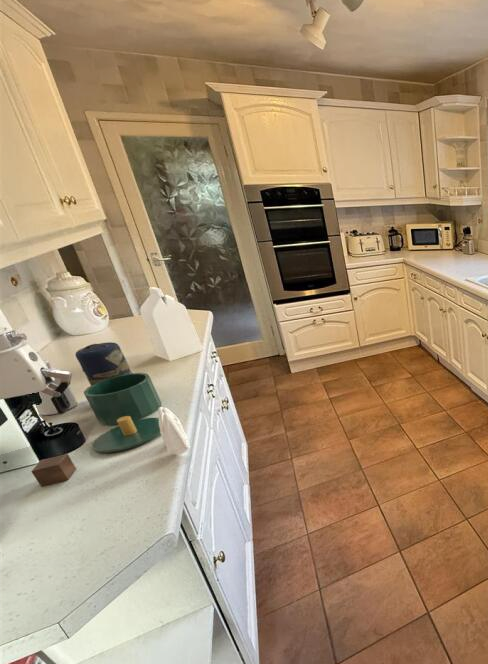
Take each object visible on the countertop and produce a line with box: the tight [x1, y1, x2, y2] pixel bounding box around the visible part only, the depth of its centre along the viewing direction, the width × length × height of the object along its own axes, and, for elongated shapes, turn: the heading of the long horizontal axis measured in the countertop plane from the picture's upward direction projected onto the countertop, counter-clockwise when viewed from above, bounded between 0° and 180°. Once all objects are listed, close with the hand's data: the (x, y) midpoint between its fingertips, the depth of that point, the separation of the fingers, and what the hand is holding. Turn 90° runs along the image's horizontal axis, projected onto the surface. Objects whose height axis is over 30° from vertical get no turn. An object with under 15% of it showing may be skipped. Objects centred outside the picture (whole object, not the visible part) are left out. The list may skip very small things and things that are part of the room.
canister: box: [75, 341, 133, 386], centre depth 120 cm, size 10×10×18 cm
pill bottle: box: [35, 359, 78, 416], centre depth 114 cm, size 8×8×15 cm
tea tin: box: [83, 372, 162, 427], centre depth 113 cm, size 14×14×10 cm
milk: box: [139, 286, 205, 362], centre depth 150 cm, size 12×12×26 cm
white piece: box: [157, 406, 191, 456], centre depth 97 cm, size 12×4×11 cm, turn 45°
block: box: [31, 453, 77, 488], centre depth 89 cm, size 4×4×4 cm
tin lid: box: [91, 416, 161, 453], centre depth 102 cm, size 15×15×6 cm
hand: (34, 417), depth 85 cm, fingers open, 9 cm apart
